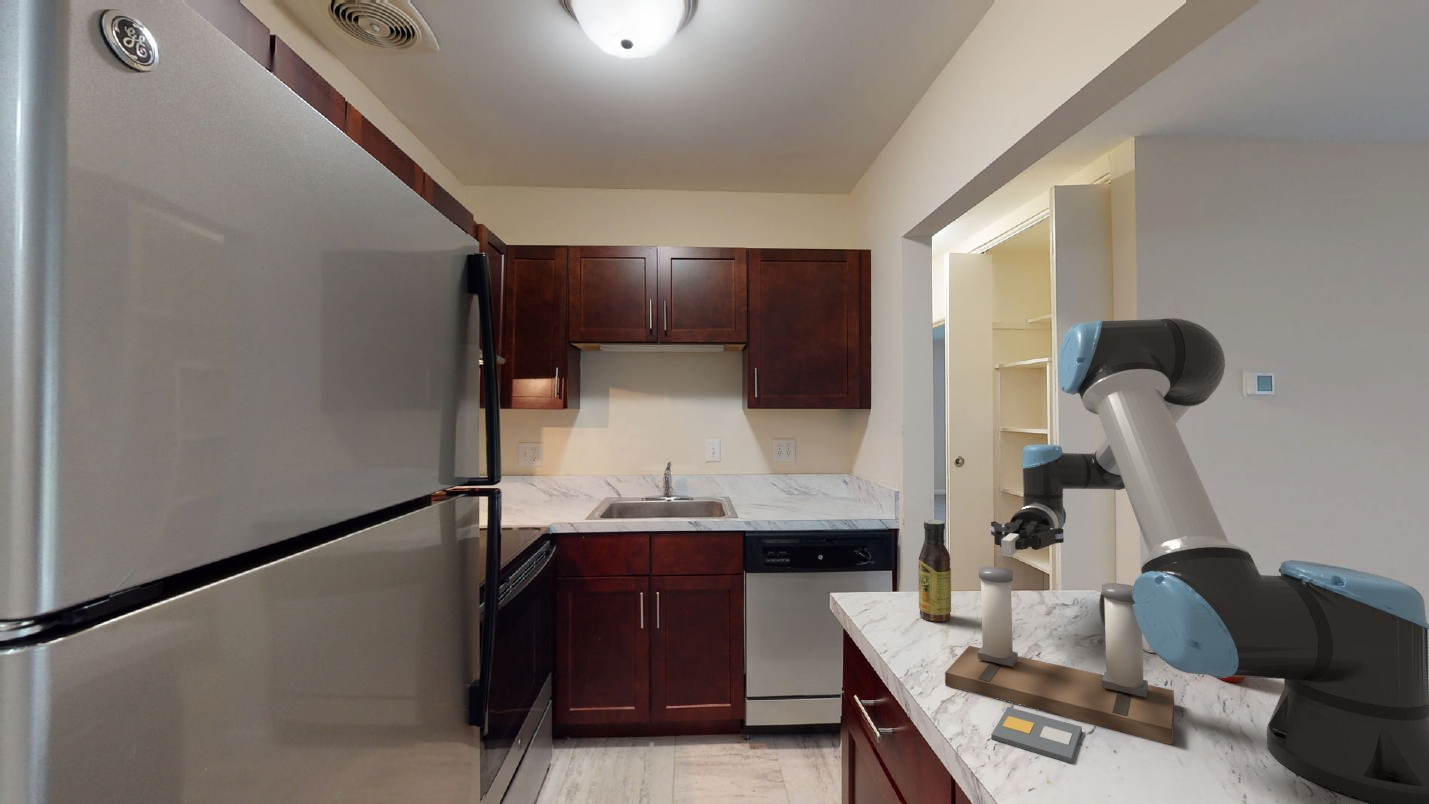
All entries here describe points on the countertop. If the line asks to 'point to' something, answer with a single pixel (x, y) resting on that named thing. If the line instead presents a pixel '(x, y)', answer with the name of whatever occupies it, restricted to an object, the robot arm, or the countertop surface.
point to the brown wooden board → (1066, 694)
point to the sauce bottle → (934, 574)
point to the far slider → (997, 616)
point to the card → (1038, 734)
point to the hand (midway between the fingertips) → (1006, 548)
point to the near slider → (1122, 642)
